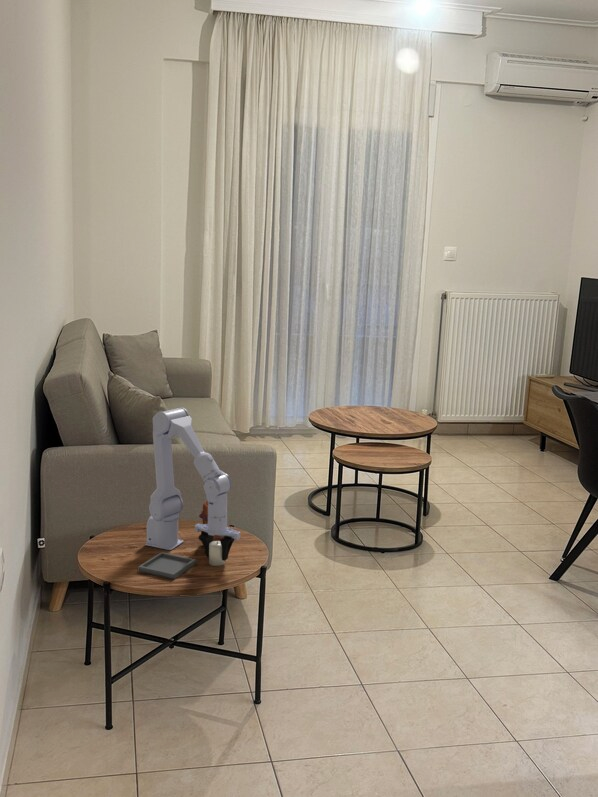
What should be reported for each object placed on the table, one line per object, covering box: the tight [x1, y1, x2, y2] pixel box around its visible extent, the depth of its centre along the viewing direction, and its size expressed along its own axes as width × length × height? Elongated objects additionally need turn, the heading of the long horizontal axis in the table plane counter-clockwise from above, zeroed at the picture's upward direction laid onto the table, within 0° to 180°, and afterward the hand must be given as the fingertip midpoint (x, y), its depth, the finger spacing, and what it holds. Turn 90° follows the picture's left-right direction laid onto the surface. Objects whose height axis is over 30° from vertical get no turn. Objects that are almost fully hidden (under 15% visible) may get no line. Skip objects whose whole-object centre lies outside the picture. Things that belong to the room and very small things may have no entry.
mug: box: [198, 501, 224, 542], centre depth 254 cm, size 15×8×15 cm, turn 168°
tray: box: [137, 551, 197, 581], centre depth 236 cm, size 12×12×2 cm
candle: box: [208, 541, 226, 567], centre depth 240 cm, size 5×5×7 cm
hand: (217, 557), depth 241 cm, fingers closed on candle, 5 cm apart
